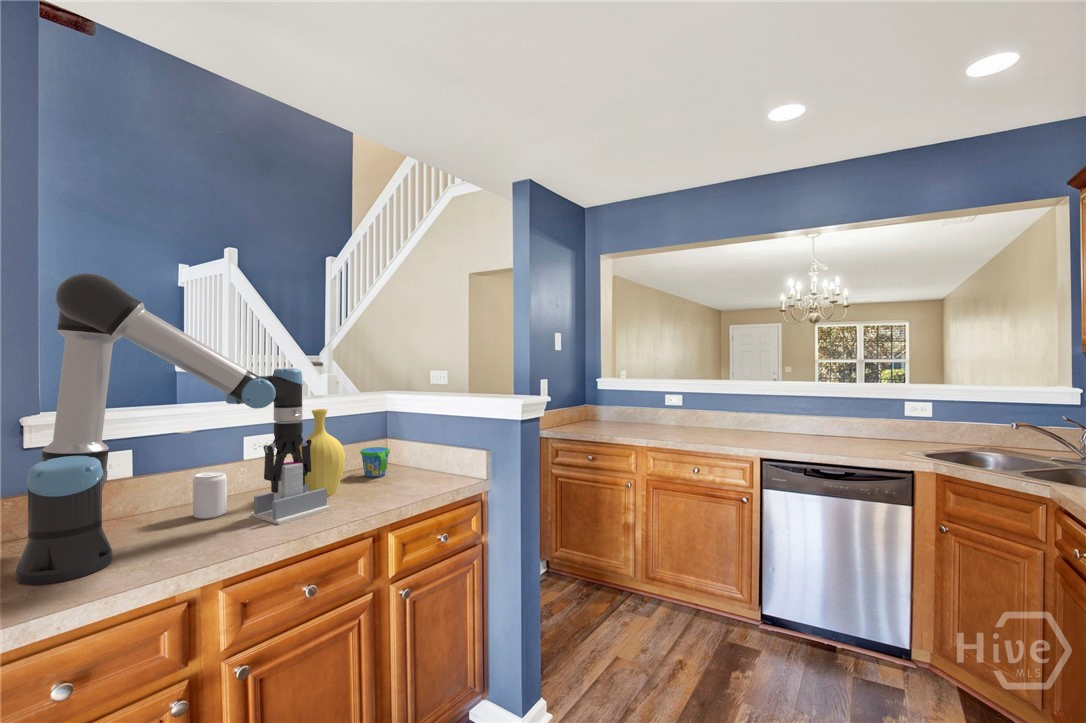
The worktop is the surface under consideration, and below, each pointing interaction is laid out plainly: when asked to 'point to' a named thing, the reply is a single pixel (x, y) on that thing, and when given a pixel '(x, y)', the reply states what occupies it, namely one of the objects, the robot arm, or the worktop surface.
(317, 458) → the vase
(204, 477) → the beverage can
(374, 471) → the snack cup
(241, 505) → the worktop surface
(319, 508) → the slot cradle
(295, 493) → the supplement box
